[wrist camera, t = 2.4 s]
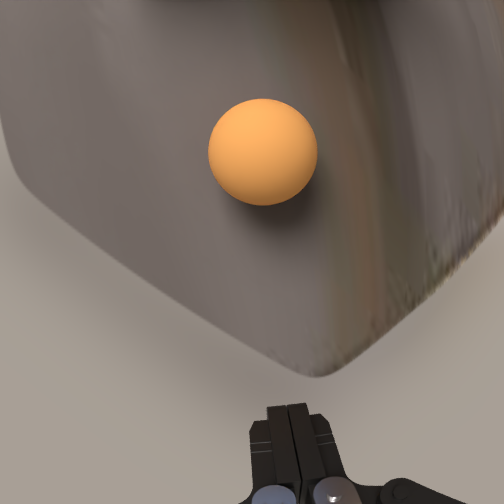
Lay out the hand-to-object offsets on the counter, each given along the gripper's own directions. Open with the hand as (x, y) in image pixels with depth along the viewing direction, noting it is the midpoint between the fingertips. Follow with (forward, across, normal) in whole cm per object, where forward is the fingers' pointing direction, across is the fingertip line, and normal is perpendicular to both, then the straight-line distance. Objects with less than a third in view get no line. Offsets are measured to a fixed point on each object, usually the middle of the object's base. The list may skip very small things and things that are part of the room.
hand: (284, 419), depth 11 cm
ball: (+8, 0, -10) cm, 12 cm away
